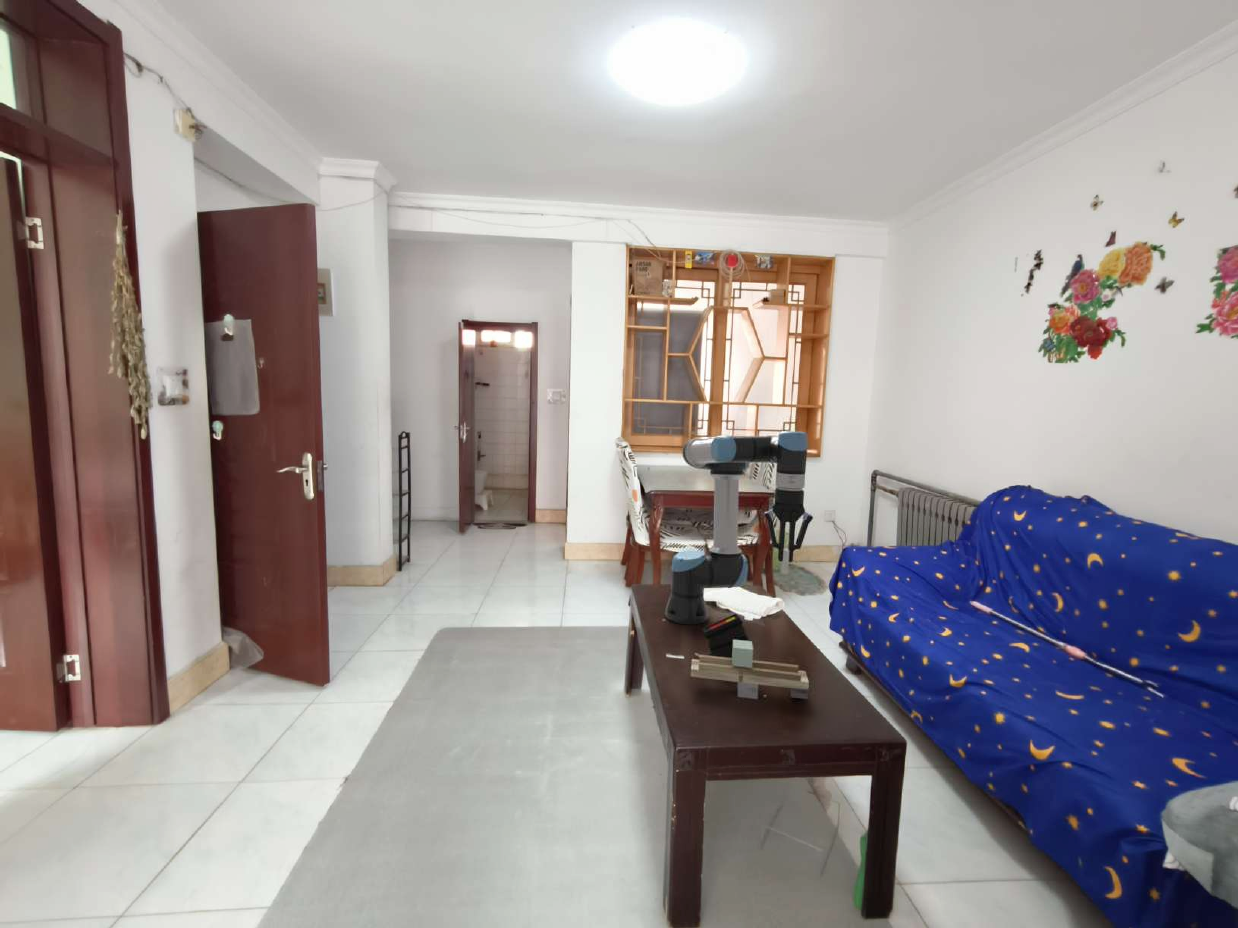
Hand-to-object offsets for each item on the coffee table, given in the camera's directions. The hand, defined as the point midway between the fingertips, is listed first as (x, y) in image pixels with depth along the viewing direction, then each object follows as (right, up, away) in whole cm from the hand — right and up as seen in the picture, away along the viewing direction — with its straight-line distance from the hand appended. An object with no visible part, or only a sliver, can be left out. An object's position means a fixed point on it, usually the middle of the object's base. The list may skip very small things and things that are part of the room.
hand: (784, 572), depth 150 cm
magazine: (-14, -29, +10) cm, 34 cm away
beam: (-11, -31, -5) cm, 33 cm away
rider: (-13, -25, -5) cm, 28 cm away
